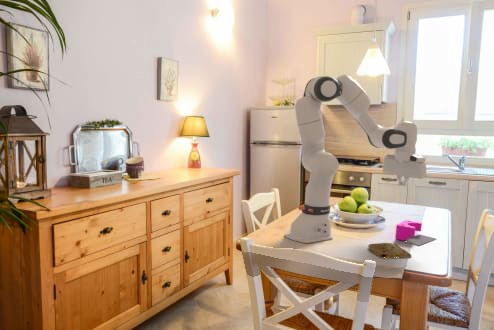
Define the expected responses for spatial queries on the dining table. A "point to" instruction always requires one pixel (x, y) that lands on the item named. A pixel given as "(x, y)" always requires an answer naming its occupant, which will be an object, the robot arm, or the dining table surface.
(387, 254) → the pastry
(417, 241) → the mat
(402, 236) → the toy block
